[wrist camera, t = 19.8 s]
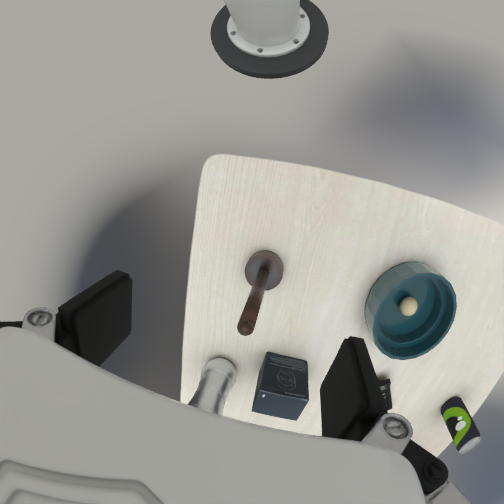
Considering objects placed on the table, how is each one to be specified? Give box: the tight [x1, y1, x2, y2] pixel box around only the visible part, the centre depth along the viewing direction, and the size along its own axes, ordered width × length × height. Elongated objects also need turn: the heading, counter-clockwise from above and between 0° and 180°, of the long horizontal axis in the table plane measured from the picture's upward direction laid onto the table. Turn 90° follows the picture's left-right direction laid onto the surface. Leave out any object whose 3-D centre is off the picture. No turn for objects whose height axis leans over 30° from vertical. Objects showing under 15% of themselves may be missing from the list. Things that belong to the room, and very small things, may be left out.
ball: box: [399, 297, 418, 316], centre depth 39 cm, size 3×3×3 cm
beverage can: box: [441, 397, 481, 454], centre depth 38 cm, size 6×6×15 cm
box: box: [252, 352, 309, 421], centre depth 42 cm, size 8×6×11 cm
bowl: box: [365, 262, 457, 360], centre depth 38 cm, size 15×15×6 cm
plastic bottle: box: [188, 358, 236, 415], centre depth 40 cm, size 6×7×20 cm
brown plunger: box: [237, 250, 283, 336], centre depth 34 cm, size 6×6×19 cm
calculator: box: [379, 379, 392, 410], centre depth 46 cm, size 9×12×3 cm
